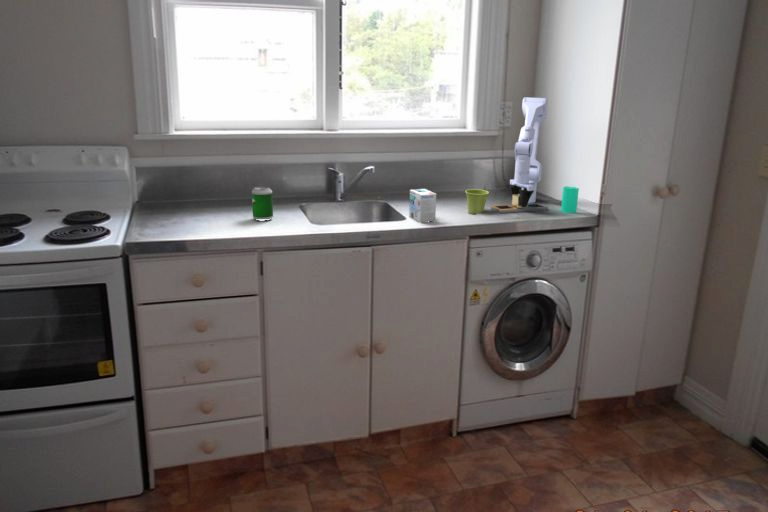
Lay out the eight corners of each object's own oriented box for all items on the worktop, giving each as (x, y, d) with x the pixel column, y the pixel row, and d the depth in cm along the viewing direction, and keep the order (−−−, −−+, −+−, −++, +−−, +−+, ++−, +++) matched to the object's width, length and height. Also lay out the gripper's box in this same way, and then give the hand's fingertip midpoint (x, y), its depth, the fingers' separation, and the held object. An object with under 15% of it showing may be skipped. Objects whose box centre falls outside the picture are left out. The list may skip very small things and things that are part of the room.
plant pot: (490, 211, 266) (491, 190, 264) (483, 216, 258) (485, 194, 256) (468, 209, 270) (469, 188, 268) (460, 214, 262) (462, 192, 259)
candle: (576, 215, 262) (579, 185, 259) (561, 214, 264) (563, 184, 260) (575, 212, 268) (578, 182, 264) (560, 211, 269) (563, 182, 266)
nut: (511, 208, 268) (512, 193, 266) (521, 208, 270) (522, 192, 268) (517, 211, 264) (518, 195, 262) (527, 210, 266) (528, 195, 264)
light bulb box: (408, 216, 256) (409, 189, 253) (424, 215, 259) (425, 188, 256) (419, 223, 247) (420, 194, 244) (436, 221, 249) (437, 193, 246)
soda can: (276, 218, 250) (275, 187, 247) (267, 222, 244) (266, 190, 240) (259, 216, 253) (258, 185, 249) (249, 220, 246) (247, 189, 242)
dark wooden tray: (490, 211, 267) (491, 205, 266) (537, 208, 274) (538, 202, 273) (499, 215, 260) (499, 209, 260) (547, 211, 268) (547, 206, 267)
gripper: (504, 169, 268) (501, 201, 272) (522, 175, 255) (520, 209, 259) (519, 168, 270) (517, 201, 274) (538, 174, 257) (535, 208, 261)
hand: (519, 205), depth 266 cm, fingers open, 6 cm apart
